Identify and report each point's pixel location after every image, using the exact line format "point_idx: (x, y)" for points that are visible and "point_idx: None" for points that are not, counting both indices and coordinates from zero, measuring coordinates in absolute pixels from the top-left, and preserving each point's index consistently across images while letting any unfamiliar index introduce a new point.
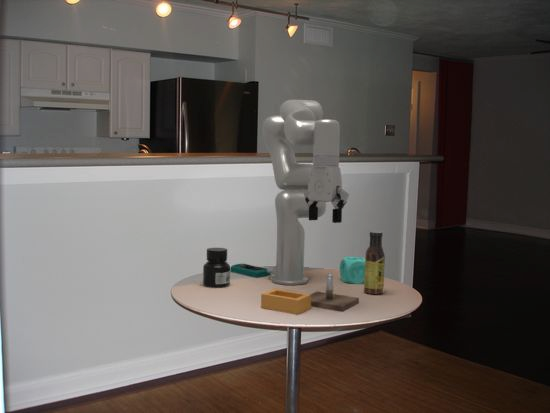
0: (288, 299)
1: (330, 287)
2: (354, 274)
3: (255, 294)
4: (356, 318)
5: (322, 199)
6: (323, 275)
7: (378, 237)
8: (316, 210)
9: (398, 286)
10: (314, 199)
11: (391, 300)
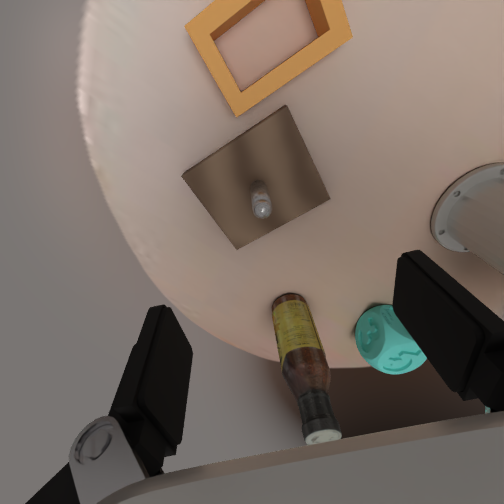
0: (215, 1)
1: (251, 195)
2: (371, 326)
3: (446, 28)
4: (123, 170)
5: (236, 498)
6: None
7: (303, 422)
8: (437, 357)
9: None
10: (443, 447)
11: (229, 303)
